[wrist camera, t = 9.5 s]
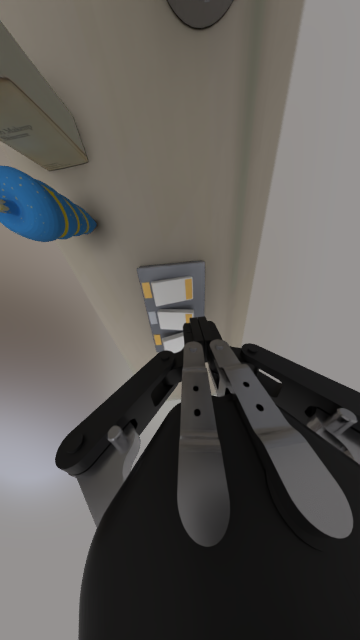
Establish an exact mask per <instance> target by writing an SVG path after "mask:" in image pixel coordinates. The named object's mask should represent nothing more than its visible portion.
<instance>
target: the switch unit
mask: <svg viewBox="0 0 360 640" xmlns="http://www.w3.org/2000/svg"><path fill="white" fill-rule="evenodd" d="M137 272H138V276H139V280H140V285H141V289H142V293H143V297H144V301H145V305H146V310H147V314H148V318H149V322H150V326H151V330H152V335H153V339H154V343H155V347H156V351H157V352H161V351H164V346H163V341H162V338H165V337H168V336H172V335H175V334H178V333H182V332H183V330H169V329H160V324H159V318H158V313H157V312H158V311H159V309H186V310H194V317H203V316H204V301H205V262H204V261H202V260H200V261H190V262H179V263H169V264H159V265H148V266H140V267H139V268H137ZM185 276H191V277H192V280H193V299H191V300H186V301H181V302H176V303H171V304H166V305H161V306H156V305H155V300H154V295H153V290H152V285H151V282H153V281H159V280H166V279H172V278H178V277H185Z"/></svg>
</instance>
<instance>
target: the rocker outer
mask: <svg viewBox="0 0 360 640" xmlns="http://www.w3.org/2000/svg"><path fill="white" fill-rule="evenodd" d="M162 341H163V346H164V351H165V350H169V351H172V352H173V353H177V352H179V351H181V350H182V349H183V347H184V336H183V332H182V333H178V334H175V335H172V336H168V337H165V338H162Z"/></svg>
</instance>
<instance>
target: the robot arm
mask: <svg viewBox="0 0 360 640" xmlns="http://www.w3.org/2000/svg"><path fill="white" fill-rule="evenodd" d="M232 1H233V0H168V2H169V4H170V5H171V7H172V9H173V10H174V12H175V13H176V15H177V16H178V17H179V18H180V19H181V20H182V21H183V22H184V23H186V24H188V25H190V26H192V27H197V28H204V27H207V26H210V25H212V24H213V23H215V22H216V21H217V20H218V19H220V18H221V17H222V15H223V14H224V13H225V12H226V10H227V9H228V8H229V6H230V5H231V3H232ZM189 322H190V323H184V325H183V336H184V347H183V349H182V350H181V351H179V352H177V353H173V352H172V351H169V350H165V351H161V352H159V353H158V354H157V355H156V356H155V357H154V358H152V359H151V360H150V361H149V362H148V363H147V364H146V365H145V366H144V367H142V368H141V369H140V370H139V371H138V372H137V373H136V374H135V375H134V376H132V377H131V378H130V379H129V380H128V381H127V382H126V383H125V384H124V385H122V386H121V387H120V388H119V389H118V390H117V391H116V392H115V393H114V394H112V395H111V396H110V397H109V398H108V399H107V400H106V401H105V402H104V403H103V404H101V405H100V406H99V407H98V408H97V409H96V410H95V411H94V412H92V413H91V414H90V415H89V416H88V417H87V418H86V419H85V420H84V421H82V422H81V423H80V424H79V425H78V426H77V427H76V428H75V429H74V430H72V431H71V432H70V433H69V434H68V435H67V436H66V438H65V439H64V440H63V441H62V443H61V445H60V446H59V448H58V451H57V454H56V458H55V462H56V466H57V467H58V468H60V469H61V470H64V471H66V472H67V473H68V474H69V475H71V476H73V477H75V478H77V480H78V482H79V485H80V488H81V490H82V492H83V495H84V497H85V500H86V502H87V505H88V507H89V510H90V512H91V514H92V517H93V519H94V522H95V524H96V527H97V530H96V532H95V535H94V538H93V540H92V543H91V546H90V549H89V552H88V556H87V560H86V564H85V568H84V573H83V579H82V585H81V593H80V606H79V640H360V393H359V392H357V391H355V390H353V389H351V388H349V387H346V386H344V385H342V384H340V383H338V382H335V381H333V380H331V379H328V378H327V377H325V376H323V375H320V374H318V373H316V372H314V371H312V370H309V369H307V368H305V367H303V366H301V365H298V364H296V363H294V362H292V361H290V360H288V359H286V358H283V357H281V356H279V355H277V354H275V353H273V352H270V351H268V350H266V349H264V348H262V347H259V346H257V345H255V344H244V345H243V346H242V348H236V347H231V346H229V344H228V343H227V342H225V341H223V340H222V338H221V336H220V334H219V331H218V329H217V328H216V325H215V324H214V323H213V322H212V321H207V320H206V317H205V316H203V317H192V318H189ZM205 362H208V364H209V373H210V376H211V378H212V381H213V384H214V387H215V390H216V393H217V396H212V395H211V391H210V384H209V378H208V372H207V368H206V367H205ZM259 369H261V370H263V371H264V372H266V373H268V374H270V375H271V376H273V377H275V378H277V379H279V380H280V381H281V382H282V383H278V382H276V381H275V380H273V379H271V378H270V377H268V376H266V375H264V374H263V373H261V372H259ZM181 381H182V394H181V403H179V404H177V405H176V406H175V407H174V408H173V409H172V410H171V411H170V412H169V413H168V415H167V416H166V418H165V419H164V421H163V422H162V424H161V425H160V427H159V429H158V430H157V432H156V433H155V435H154V436H153V438H152V440H151V441H150V443H149V444H148V446H147V447H146V449H145V450H144V452H143V453H142V455H141V456H140V458H139V460H138V461H137V463H136V464H135V466H134V467H133V469H132V471H131V467H132V464H133V462H134V460H135V458H136V456H137V454H138V452H139V449H140V437H139V435H140V434H141V433H142V431H143V430H144V429H145V428H146V426H147V425H148V423H149V422H150V421H151V419H152V418H153V417H154V416H155V414H156V413H157V411H158V410H159V409H160V408H161V406H162V405H163V404H164V402H165V401H166V400H167V398H168V397H169V396H170V394H171V393H172V392H173V391H174V389H175V388H176V387H177V385H178V383H179V382H181Z"/></svg>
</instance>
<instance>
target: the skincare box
mask: <svg viewBox="0 0 360 640" xmlns="http://www.w3.org/2000/svg"><path fill="white" fill-rule="evenodd" d="M0 141H2V142H3V143H5V144H7V145H8V146H10V147H12V148H13V149H15V150H16V151H18V152H20V153H21V154H23V155H24V156H26V157H28V158H29V159H31V160H32V161H34V162H36V163H37V164H39V165H40V166H42V167H44V168H45V169H47V170H49V171H50V170H55V169H61V168H65V167H70V166H75V165H79V164H83V163H87V162H88V159H87V156H86V153H85V150H84V147H83V144H82V141H81V139H80V136H79V133H78V130H77V127H76V124H75V121H74V119H73V116H72V114H71V113H70V112H69V110H68V109H67V108H66V107H65V105H64V104H63V103H62V101H61V100H60V99H59V97H58V96H57V95H56V93H55V92H54V91H53V89H52V88H51V87H50V85H49V84H48V83H47V81H46V80H45V79H44V77H43V76H42V75H41V74H40V72H39V71H38V70H37V68H36V67H35V66H34V64H33V63H32V62H31V60H30V59H29V58H28V56H27V55H26V54H25V52H24V51H23V50H22V49H21V47H20V46H19V45H18V43H17V42H16V41H15V39H14V38H13V37H12V35H11V34H10V33H9V31H8V30H7V29H6V27H5V26H4V25H3V23H2V22H1V21H0Z"/></svg>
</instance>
